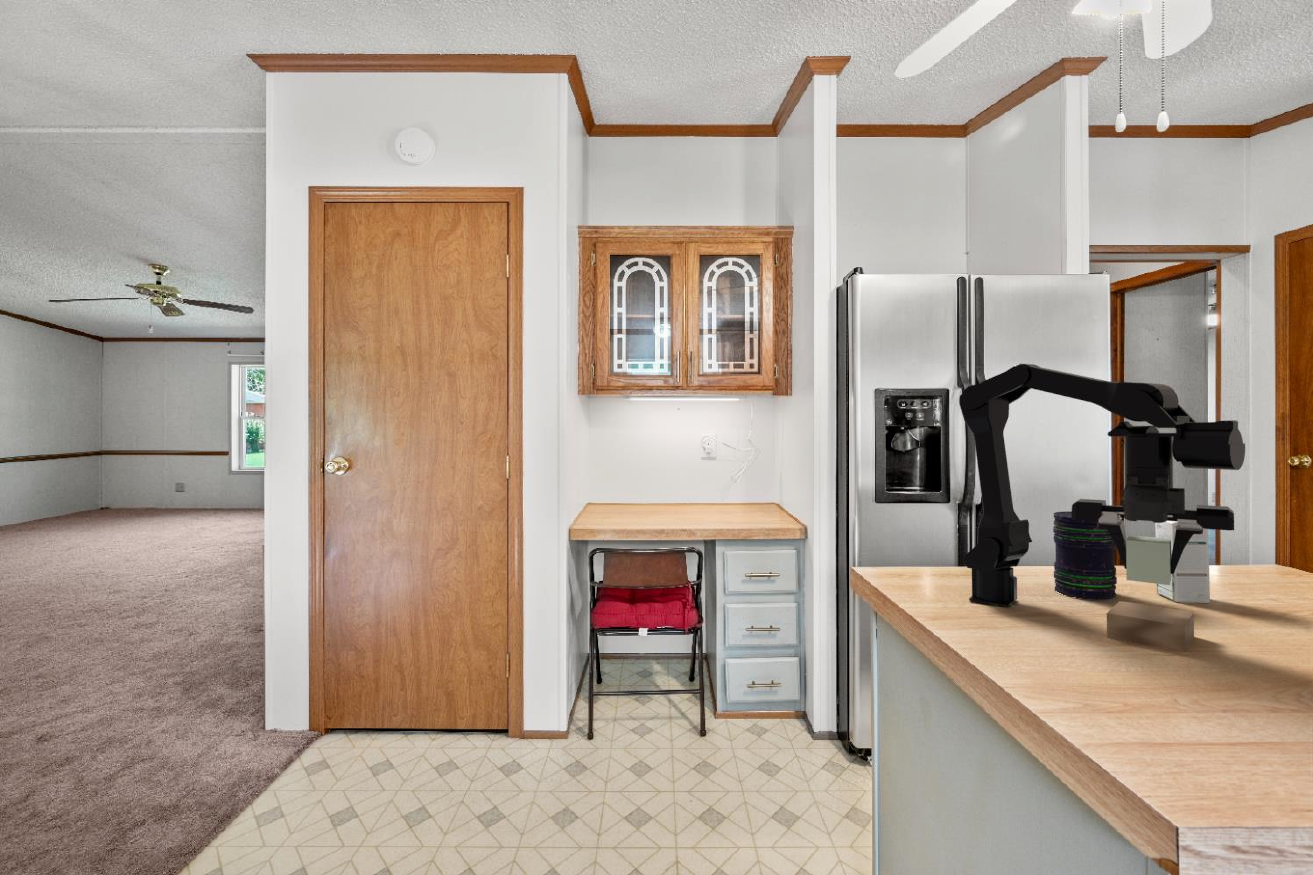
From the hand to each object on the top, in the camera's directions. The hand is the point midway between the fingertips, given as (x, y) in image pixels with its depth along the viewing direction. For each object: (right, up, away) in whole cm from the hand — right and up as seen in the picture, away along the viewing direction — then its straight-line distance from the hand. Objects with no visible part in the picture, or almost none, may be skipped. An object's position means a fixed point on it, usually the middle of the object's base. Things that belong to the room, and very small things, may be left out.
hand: (1148, 570), depth 93 cm
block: (0, -10, 0) cm, 10 cm away
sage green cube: (0, -1, 0) cm, 1 cm away
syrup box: (+22, -10, +20) cm, 31 cm away
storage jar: (+7, -10, +25) cm, 27 cm away
